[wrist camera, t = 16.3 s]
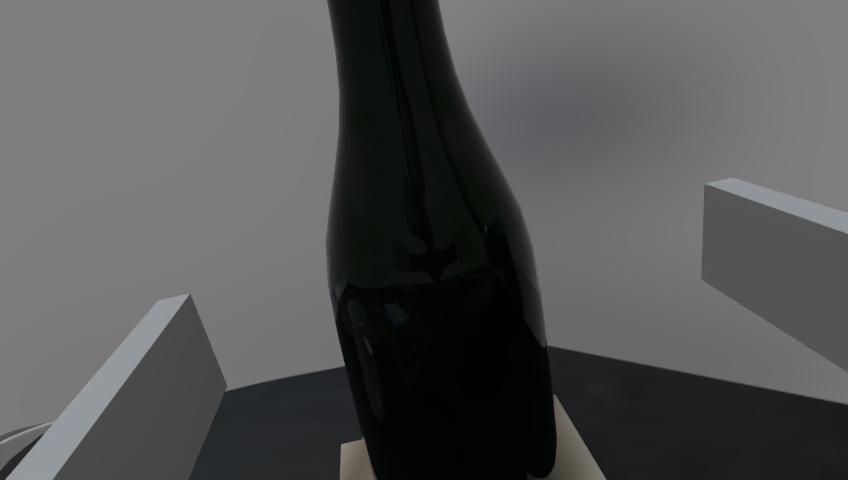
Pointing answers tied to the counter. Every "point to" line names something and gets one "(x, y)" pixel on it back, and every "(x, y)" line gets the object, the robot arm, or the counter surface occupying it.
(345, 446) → the board
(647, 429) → the counter surface
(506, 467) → the dark green wine bottle
